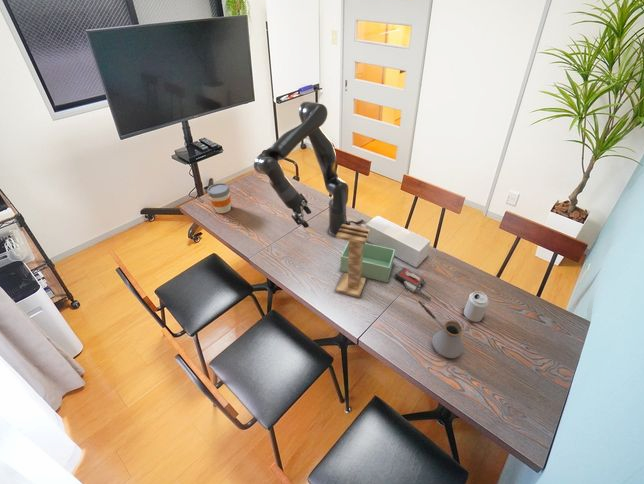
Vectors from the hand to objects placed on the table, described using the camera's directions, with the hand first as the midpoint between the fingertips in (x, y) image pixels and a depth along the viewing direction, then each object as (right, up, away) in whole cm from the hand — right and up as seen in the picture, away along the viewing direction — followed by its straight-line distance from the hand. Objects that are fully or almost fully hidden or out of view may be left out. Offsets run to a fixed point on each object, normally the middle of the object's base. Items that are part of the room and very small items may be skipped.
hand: (308, 219), depth 147 cm
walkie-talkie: (+49, -31, +5) cm, 58 cm away
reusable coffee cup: (-57, +6, +56) cm, 80 cm away
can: (+70, -41, -8) cm, 82 cm away
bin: (+28, -24, +15) cm, 39 cm away
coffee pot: (+52, -48, -17) cm, 72 cm away
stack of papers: (+44, -15, +26) cm, 53 cm away
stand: (+20, -31, +5) cm, 37 cm away
